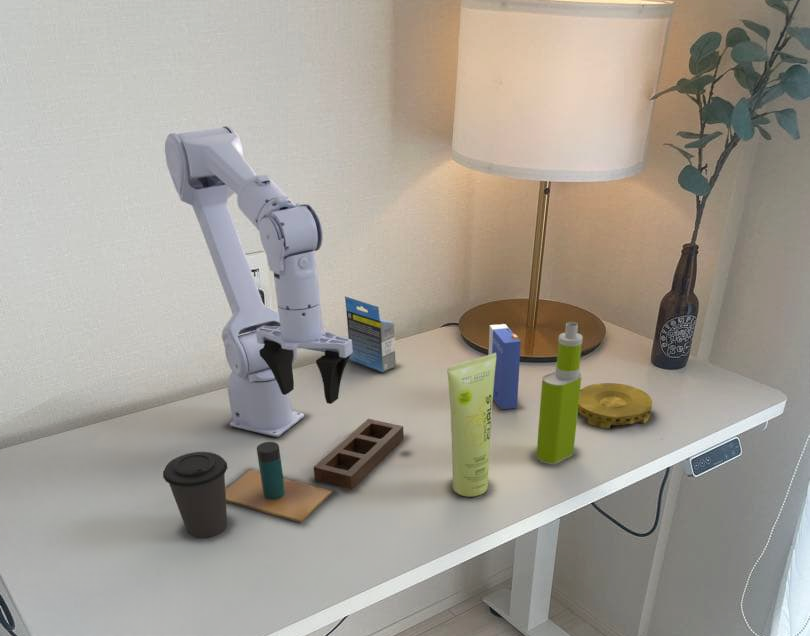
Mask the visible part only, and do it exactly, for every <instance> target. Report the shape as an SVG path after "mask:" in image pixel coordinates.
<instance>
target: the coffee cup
mask: <svg viewBox="0 0 810 636" xmlns="http://www.w3.org/2000/svg"><path fill="white" fill-rule="evenodd" d="M227 470H228V462H227V461H226V460H225V459H224V458H223V457H222V456H221V455H219V454H217V453H214V452H209V451H193V452H189V453H184V454H181V455H179V456H177V457H175V458H173V459H172V460H170V461H169V462H168V463H167V464H166V466H165V467H164V469H163V472H162V478H163V479H164V481H165V482H166V483H168V485H169V487H170V490H171V493H172V495H173V498H174V501H175V503H176V506H177V508H178V511H179V513H180V516H181V519H182V522H183V525H184V527H185V529H186V532H187V534H188V535H189V536H191V537H193V538H196V539H209V538H213V537H216V536H218V535H220V534H222V533H223V532H224V531H225V530H226V529H227V527H228V516H227V515H228V513H227V501H226V493H225V490H226V478H225V477H226V476H225V475H226V472H227Z"/></svg>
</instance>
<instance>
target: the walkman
mask: <svg viewBox="0 0 810 636" xmlns="http://www.w3.org/2000/svg"><path fill="white" fill-rule="evenodd" d="M488 335H489V336H488V355H491V354H493V353H496V366H495V376H494V388H493V401H494V402H495V403H496V404H497V405H498V407H499V408H500V410H509V409H516V408H518V400H519V399H518V398H519V396H518V395H519V381H520V380H519V378H520V365H521V364H520V362H521V347H522V341H521V339H519V337H518V335H517V334H516V333H514V332H513V330H511V328H510V327H508V326H507V324H506V323H502V324H501V323H500V324H490V325H489V334H488Z"/></svg>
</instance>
